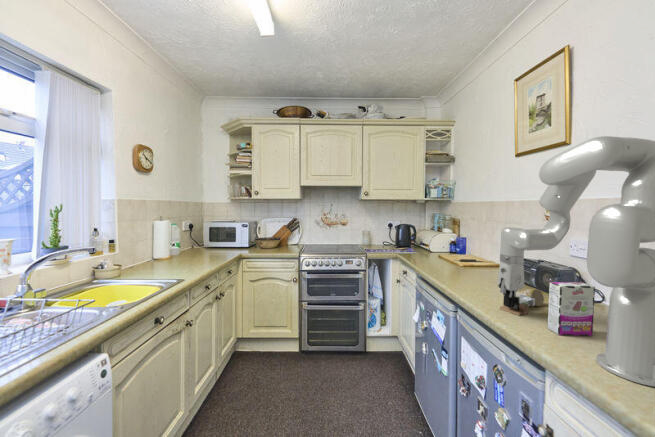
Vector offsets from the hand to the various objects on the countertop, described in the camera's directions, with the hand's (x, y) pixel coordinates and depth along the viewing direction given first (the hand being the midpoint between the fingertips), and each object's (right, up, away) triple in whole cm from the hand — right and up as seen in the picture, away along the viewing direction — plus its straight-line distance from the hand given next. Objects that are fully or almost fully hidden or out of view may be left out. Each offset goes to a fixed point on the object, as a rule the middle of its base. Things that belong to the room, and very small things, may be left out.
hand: (508, 306), depth 103 cm
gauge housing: (+3, -3, +2) cm, 4 cm away
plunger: (+7, -1, +4) cm, 8 cm away
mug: (+15, -3, +11) cm, 19 cm away
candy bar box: (+9, -4, -15) cm, 18 cm away
